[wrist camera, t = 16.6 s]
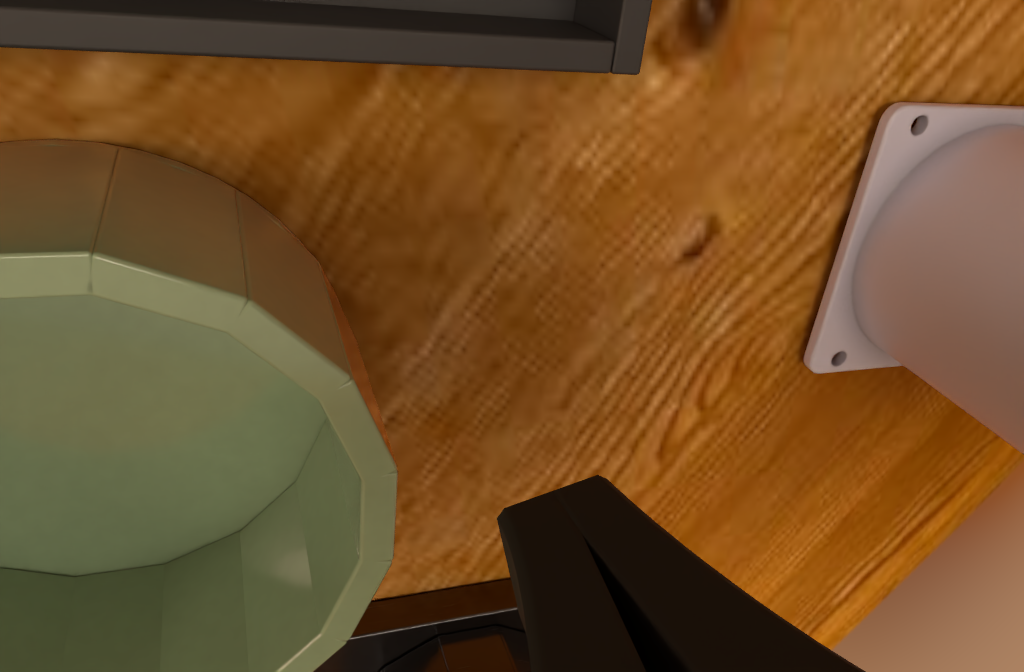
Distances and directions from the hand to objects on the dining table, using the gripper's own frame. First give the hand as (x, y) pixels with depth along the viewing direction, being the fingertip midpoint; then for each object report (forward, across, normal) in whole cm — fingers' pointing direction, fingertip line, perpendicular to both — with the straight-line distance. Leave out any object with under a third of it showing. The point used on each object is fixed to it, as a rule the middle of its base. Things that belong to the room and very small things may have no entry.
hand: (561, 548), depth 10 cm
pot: (+10, +7, +2) cm, 13 cm away
